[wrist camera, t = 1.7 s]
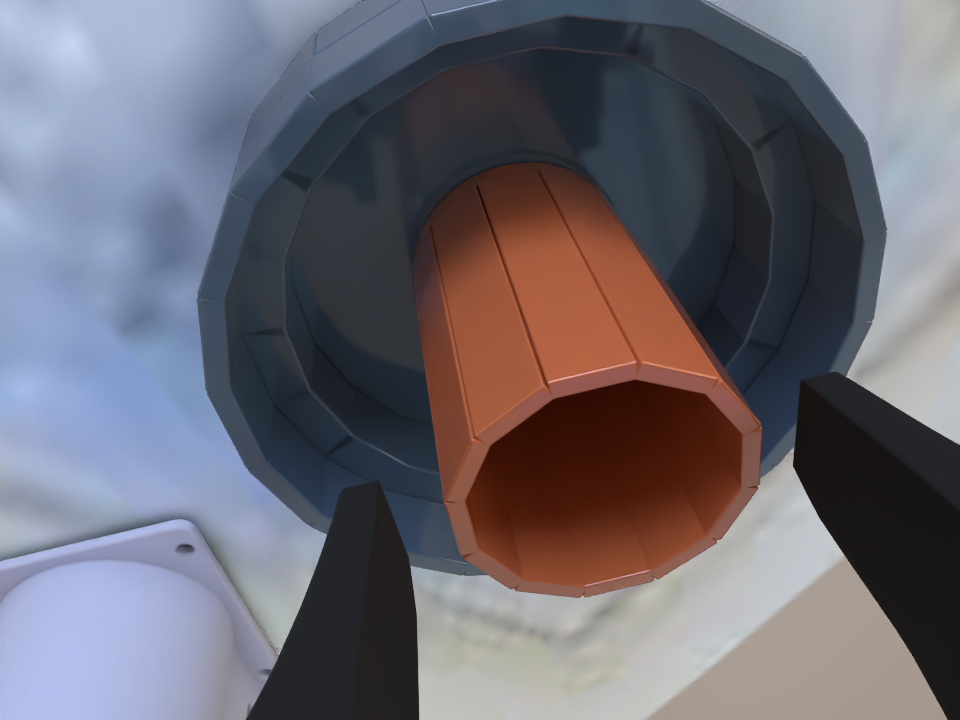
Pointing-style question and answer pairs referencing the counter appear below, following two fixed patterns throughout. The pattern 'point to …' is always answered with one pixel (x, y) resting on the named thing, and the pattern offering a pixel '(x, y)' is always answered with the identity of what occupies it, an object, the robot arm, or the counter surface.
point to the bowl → (507, 140)
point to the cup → (571, 391)
